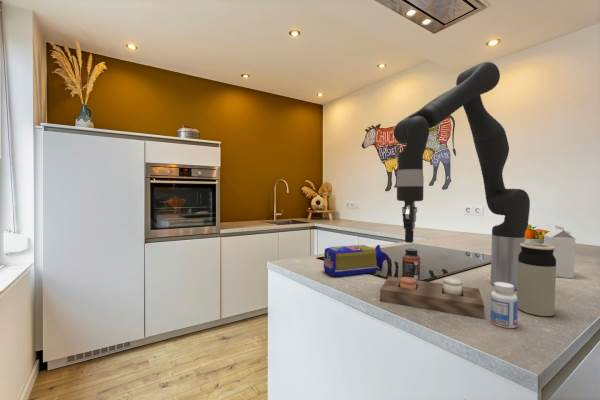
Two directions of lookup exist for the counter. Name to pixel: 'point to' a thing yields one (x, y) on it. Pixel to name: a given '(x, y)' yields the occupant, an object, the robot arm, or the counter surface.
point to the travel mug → (536, 279)
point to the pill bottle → (504, 305)
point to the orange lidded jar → (408, 282)
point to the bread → (353, 260)
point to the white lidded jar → (452, 286)
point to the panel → (433, 297)
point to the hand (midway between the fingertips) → (409, 242)
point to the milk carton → (562, 251)
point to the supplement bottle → (411, 264)
